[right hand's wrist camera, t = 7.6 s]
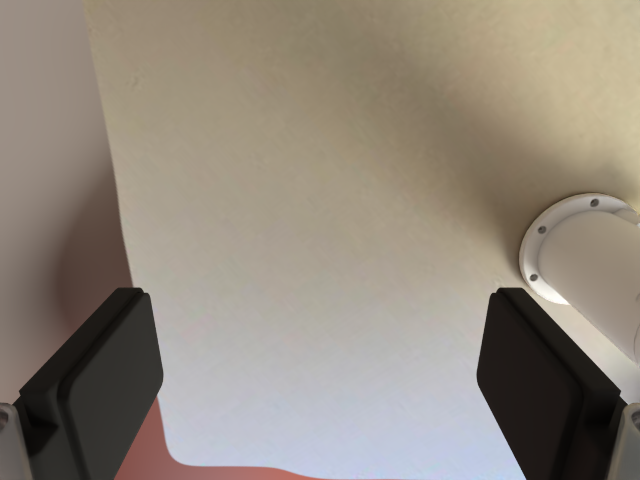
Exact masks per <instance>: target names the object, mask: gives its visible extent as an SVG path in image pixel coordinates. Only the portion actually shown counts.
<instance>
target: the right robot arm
mask: <svg viewBox="0 0 640 480" xmlns="http://www.w3.org/2000/svg"><path fill="white" fill-rule="evenodd" d="M519 265H520V271H521V273H522V276H523V278H524V280H525V281H526V283H527V284H528V286H529V287H530V288H531V289H532V290H533V291H534V292H535V293H536V294H538V295H539V296H541V297H542V298H544V299H546V300H549V301H551V302H554V303H559V304H570V305H571V306H572V307H574V308H575V309H576V310H577V311H578V312H579V313H580V314H581V315H582V316H583V317H585V318H586V319H587V320H588V321H589V322H590V323H591V324H592V325H593V326H594V327H595V328H597V329H598V330H599V331H600V332H601V333H602V334H603V335H604V336H605V337H606V338H608V339H609V340H610V341H611V342H612V343H613V344H614V345H615V346H616V347H617V348H618V349H620V350H621V351H622V352H623V353H624V354H625V355H626V356H627V357H628V358H629V359H631V360H632V361H633V362H634V363H635V364H636V365H637V366H638V367H639V368H640V215H638V214H637V212H636V211H635V210H634V209H633V208H632V207H631V206H630V205H628V204H627V203H625V202H623V201H622V200H620V199H617V198H615V197H612V196H609V195H605V194H600V193H586V194H580V195H575V196H572V197H569V198H566V199H563V200H561V201H559V202H558V203H556V204H554V205H552V206H551V207H549V208H548V209H547V210H545V211H544V212H543V213H542V214H541V215H540V216H539V217H538V218H537V219H536V220H535V221H534V222H533V223H532V225H531V226H530V228H529V229H528V230H527V232H526V234H525V236H524V238H523V241H522V244H521V248H520V251H519ZM162 382H163V368H162V362H161V356H160V350H159V345H158V339H157V333H156V328H155V322H154V316H153V310H152V305H151V299H150V295H149V294H148V293H144V292H143V290H142V289H141V288H117V289H116V290H115V291H114V292H113V293H112V294H111V295H110V296H109V297H108V298H107V299H106V300H105V301H104V302H103V303H102V305H101V306H100V307H99V308H98V309H97V310H96V311H95V312H94V313H93V314H92V315H91V316H90V317H89V318H88V319H87V320H86V321H85V322H84V323H83V324H82V325H81V327H80V328H79V329H78V330H77V331H76V332H75V333H74V334H73V335H72V336H71V337H70V338H69V339H68V340H67V341H66V342H65V343H64V344H63V345H62V346H61V347H60V348H59V350H58V351H57V352H56V353H55V354H54V355H53V356H52V357H51V358H50V359H49V360H48V361H47V362H46V363H45V364H44V365H43V366H42V367H41V368H40V369H39V370H38V371H37V373H36V374H35V375H34V376H33V377H32V378H31V379H30V380H29V381H28V382H27V383H26V384H25V385H24V386H23V387H22V388H21V389H20V390H19V393H20V395H21V396H20V397H19V398H18V399H17V400H16V401H15V402H14V403H13V404H12V405H10V404H8V403H0V480H114V478H115V476H116V474H117V472H118V470H119V468H120V466H121V464H122V462H123V460H124V458H125V456H126V454H127V452H128V450H129V448H130V447H131V445H132V443H133V441H134V439H135V437H136V435H137V433H138V431H139V429H140V427H141V425H142V423H143V421H144V419H145V417H146V415H147V413H148V411H149V409H150V407H151V405H152V403H153V402H154V399H155V398H156V396H157V394H158V392H159V390H160V388H161V386H162ZM477 382H478V386H479V388H480V390H481V392H482V394H483V396H484V398H485V400H486V402H487V403H488V405H489V407H490V409H491V411H492V413H493V415H494V417H495V419H496V421H497V423H498V425H499V427H500V429H501V431H502V433H503V435H504V437H505V439H506V441H507V443H508V445H509V447H510V448H511V450H512V452H513V454H514V456H515V458H516V460H517V462H518V464H519V466H520V468H521V470H522V472H523V474H524V476H525V478H526V480H640V403H632V404H630V405H628V404H627V403H626V402H625V401H624V400H623V399H622V398H621V397H620V393H621V390H620V389H619V388H618V387H617V386H616V385H615V384H614V383H613V382H612V381H611V380H610V379H609V378H608V377H607V376H606V375H605V374H604V373H603V371H602V370H601V369H600V368H599V367H598V366H597V365H596V364H595V363H594V362H593V361H592V360H591V359H590V358H589V357H588V356H587V355H586V354H585V353H584V352H583V351H582V350H581V348H580V347H579V346H578V345H577V344H576V343H575V342H574V341H573V340H572V339H571V338H570V337H569V336H568V335H567V334H566V333H565V332H564V331H563V330H562V329H561V328H560V327H559V325H558V324H557V323H556V322H555V321H554V320H553V319H552V318H551V317H550V316H549V315H548V314H547V313H546V312H545V311H544V310H543V309H542V308H541V307H540V306H539V305H538V303H537V302H536V301H535V300H534V299H533V298H532V297H531V296H530V295H529V294H528V293H527V292H526V291H525V290H524V289H523V288H499V289H498V290H497V292H496V293H492V294H491V295H490V299H489V305H488V310H487V316H486V322H485V328H484V333H483V339H482V345H481V350H480V356H479V362H478V368H477Z"/></svg>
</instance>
